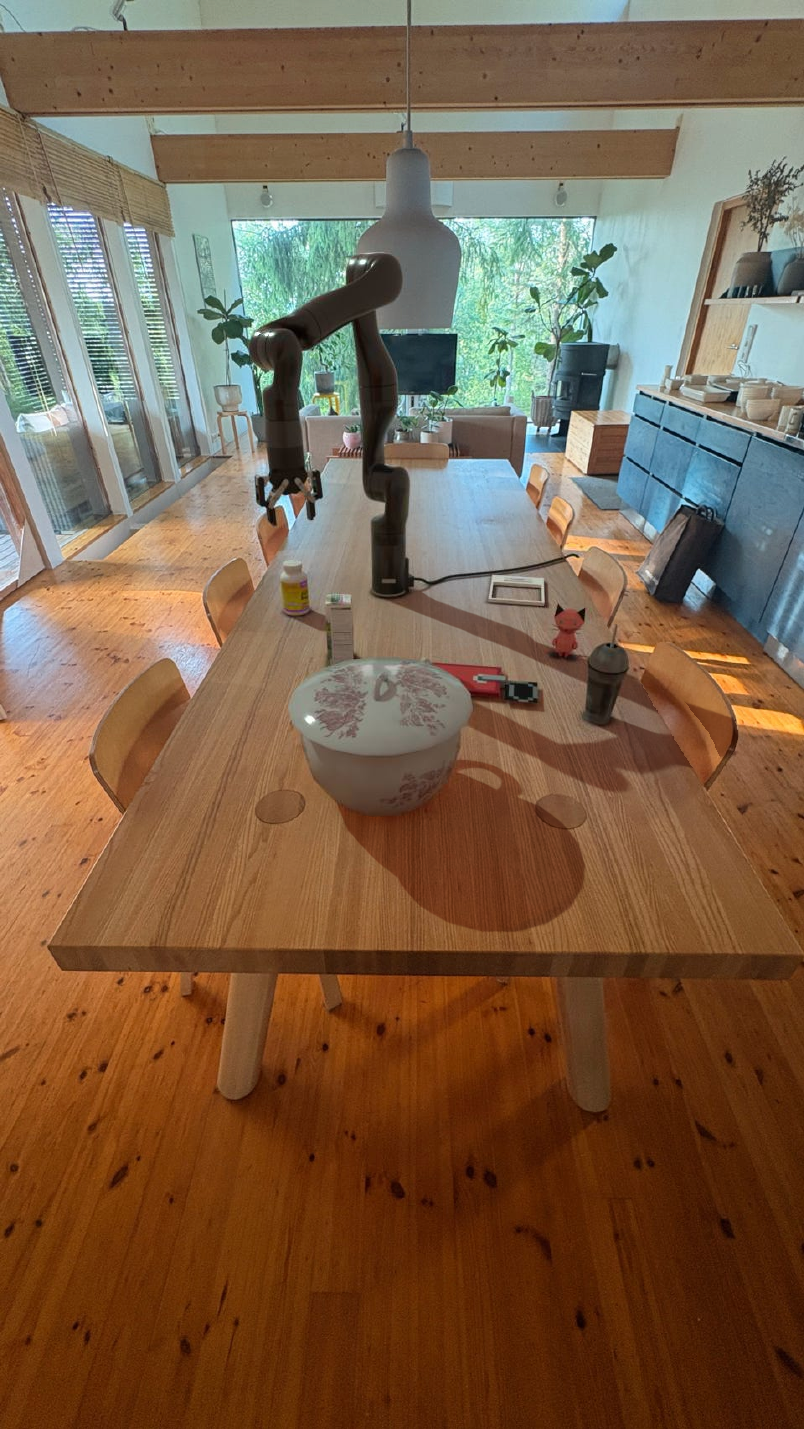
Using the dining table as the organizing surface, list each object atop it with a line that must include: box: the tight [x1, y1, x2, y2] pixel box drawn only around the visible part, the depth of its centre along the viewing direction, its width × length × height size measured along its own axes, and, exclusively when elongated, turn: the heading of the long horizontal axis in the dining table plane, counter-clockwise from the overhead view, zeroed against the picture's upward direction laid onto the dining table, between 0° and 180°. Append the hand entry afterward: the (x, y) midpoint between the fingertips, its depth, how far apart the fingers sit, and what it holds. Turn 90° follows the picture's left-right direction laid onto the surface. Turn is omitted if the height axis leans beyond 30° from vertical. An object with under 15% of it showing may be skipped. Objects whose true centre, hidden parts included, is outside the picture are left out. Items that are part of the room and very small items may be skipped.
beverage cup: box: [584, 623, 630, 725], centre depth 113 cm, size 7×7×20 cm
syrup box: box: [324, 593, 355, 667], centre depth 134 cm, size 6×6×14 cm
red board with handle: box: [431, 661, 539, 704], centre depth 128 cm, size 30×3×15 cm
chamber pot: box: [287, 656, 474, 818], centre depth 96 cm, size 28×28×21 cm
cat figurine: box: [551, 603, 587, 661], centre depth 137 cm, size 7×7×12 cm
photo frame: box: [487, 574, 546, 607], centre depth 171 cm, size 15×1×18 cm
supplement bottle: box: [279, 559, 310, 617], centre depth 157 cm, size 7×7×13 cm
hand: (292, 522), depth 136 cm, fingers open, 8 cm apart
